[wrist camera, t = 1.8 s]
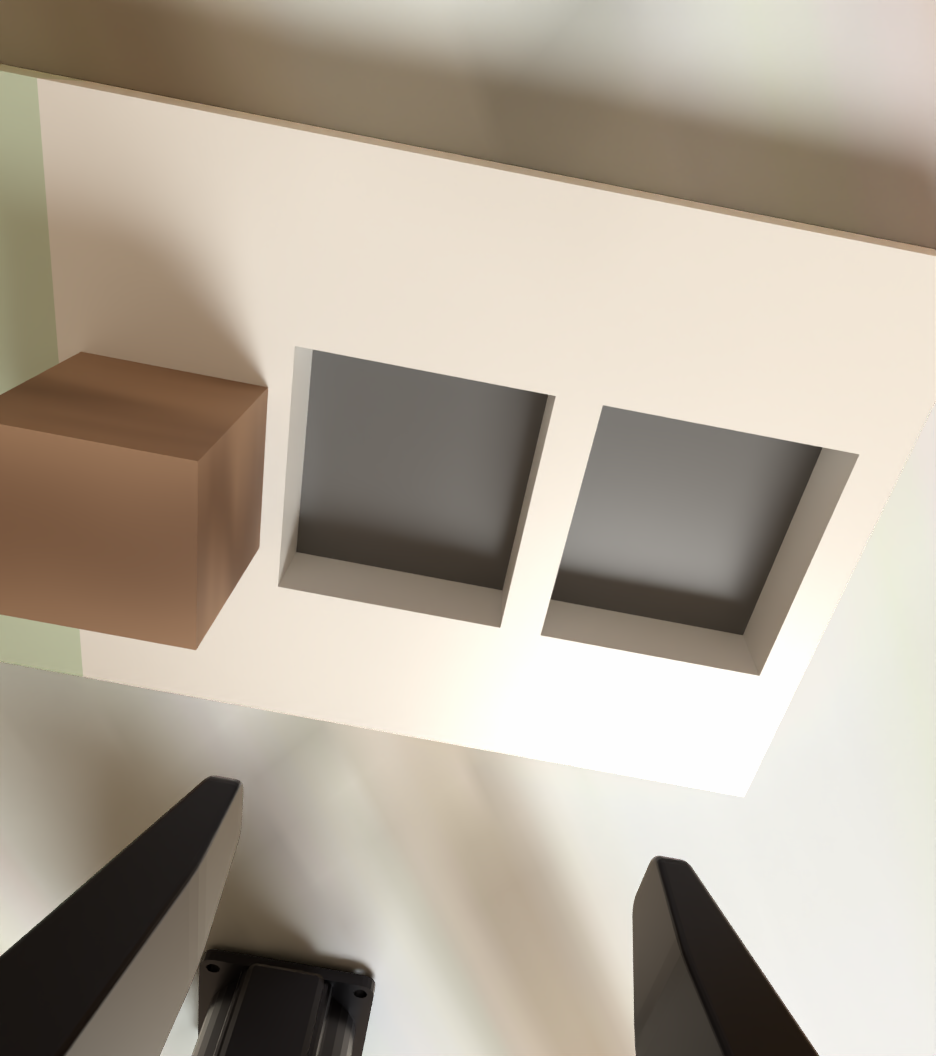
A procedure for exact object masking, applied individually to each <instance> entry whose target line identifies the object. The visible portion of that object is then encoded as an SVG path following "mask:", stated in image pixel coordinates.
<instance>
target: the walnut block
mask: <svg viewBox="0 0 936 1056" xmlns="http://www.w3.org/2000/svg"><path fill="white" fill-rule="evenodd" d="M267 401H268V387H264V386H259V385H253V384H248V383H243V382H238V381H233V380H227V379H222V378H217V377H212V376H206V375H201V374H196V373H191V372H185V371H180V370H175V369H170V368H164V367H159V366H154V365H149V364H143V363H138V362H133V361H128V360H122V359H117V358H112V357H107V356H102V355H96V354H91V353H86V352H79V353H78V354H76V355H74V356H72V357H70V358H68V359H66V360H65V361H63V362H61V363H59V364H57V365H55V366H53V367H51V368H50V369H48V370H46V371H44V372H42V373H40V374H38V375H36V376H35V377H33V378H31V379H29V380H27V381H25V382H23V383H22V384H20V385H18V386H16V387H14V388H12V389H10V390H8V391H7V392H5V393H3V394H1V395H0V615H6V616H11V617H17V618H22V619H28V620H33V621H39V622H44V623H49V624H55V625H60V626H66V627H71V628H77V629H82V630H88V631H93V632H99V633H104V634H110V635H115V636H120V637H126V638H131V639H137V640H142V641H148V642H153V643H159V644H164V645H170V646H175V647H181V648H186V649H192V650H197V648H198V646H199V645H200V643H201V642H202V640H203V638H204V637H205V635H206V634H207V632H208V630H209V629H210V627H211V625H212V624H213V622H214V621H215V619H216V617H217V616H218V614H219V612H220V611H221V609H222V608H223V606H224V604H225V603H226V601H227V600H228V598H229V596H230V595H231V593H232V591H233V590H234V588H235V587H236V585H237V583H238V582H239V580H240V579H241V577H242V575H243V574H244V572H245V570H246V569H247V567H248V566H249V564H250V562H251V561H252V559H253V557H254V556H255V554H256V553H257V551H258V549H259V547H260V529H261V511H262V492H263V474H264V456H265V438H266V420H267Z"/></svg>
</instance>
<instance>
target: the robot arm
mask: <svg viewBox="0 0 936 1056" xmlns="http://www.w3.org/2000/svg"><path fill="white" fill-rule="evenodd" d="M242 805H243V785H242V782H241V781H239V780H237V779H231V778H225V777H220V776H210V777H208V778H206V779H205V780H203V781H202V782H201V783H200V784H199V785H198V786H196V787H195V788H194V789H193V790H192V791H191V792H190V793H188V794H187V795H186V796H185V797H184V798H183V799H181V800H180V801H179V802H178V803H177V804H176V805H175V806H173V807H172V808H171V809H170V810H169V811H168V812H166V813H165V814H164V815H163V816H162V817H161V818H160V819H158V820H157V821H156V822H155V823H154V824H153V825H151V826H150V827H149V828H148V829H147V830H146V831H145V832H143V833H142V834H141V835H140V836H139V837H138V838H136V839H135V840H134V841H133V842H132V843H131V844H130V845H128V846H127V847H126V848H125V849H124V850H123V851H121V852H120V853H119V854H118V855H117V856H116V857H115V858H113V859H112V860H111V861H110V862H109V863H108V864H106V865H105V866H104V867H103V868H102V869H101V870H100V871H98V872H97V873H96V874H95V875H94V876H93V877H91V878H90V879H89V880H88V881H87V882H86V883H85V884H83V885H82V886H81V887H80V888H79V889H78V890H76V891H75V892H74V893H73V894H72V895H71V896H70V897H68V898H67V899H66V900H65V901H64V902H63V903H61V904H60V905H59V906H58V907H57V908H56V909H55V910H53V911H52V912H51V913H50V914H49V915H48V916H46V917H45V918H44V919H43V920H42V921H41V922H40V923H38V924H37V925H36V926H35V927H34V928H33V929H31V930H30V931H29V932H28V933H27V934H26V935H24V936H23V937H22V938H21V939H20V940H19V941H18V942H16V943H15V944H14V945H13V946H12V947H11V948H9V949H8V950H7V951H6V952H5V953H4V954H3V955H1V956H0V1056H160V1054H161V1051H162V1049H163V1047H164V1045H165V1042H166V1040H167V1038H168V1036H169V1033H170V1031H171V1029H172V1026H173V1024H174V1022H175V1020H176V1017H177V1015H178V1013H179V1011H180V1008H181V1006H182V1004H183V1002H184V999H185V997H186V995H187V993H188V990H189V988H190V985H191V983H192V981H193V978H194V976H195V973H196V971H197V968H198V965H199V962H200V960H201V957H202V954H203V951H204V948H205V945H206V942H207V939H208V936H209V932H210V929H211V926H212V923H213V920H214V917H215V914H216V911H217V907H218V904H219V901H220V898H221V895H222V892H223V889H224V885H225V882H226V879H227V876H228V873H229V870H230V867H231V863H232V860H233V857H234V854H235V851H236V848H237V844H238V841H239V837H240V832H241V824H242ZM633 977H634V1030H635V1050H636V1056H819V1055H818V1053H817V1052H816V1050H815V1049H814V1047H813V1046H812V1044H811V1043H810V1041H809V1040H808V1038H807V1037H806V1035H805V1034H804V1032H803V1031H802V1029H801V1028H800V1027H799V1025H798V1024H797V1022H796V1021H795V1019H794V1018H793V1016H792V1015H791V1013H790V1012H789V1010H788V1009H787V1007H786V1006H785V1004H784V1003H783V1001H782V1000H781V998H780V997H779V996H778V994H777V993H776V991H775V990H774V988H773V987H772V985H771V984H770V982H769V981H768V979H767V978H766V976H765V975H764V973H763V972H762V970H761V969H760V967H759V966H758V964H757V963H756V962H755V960H754V959H753V957H752V956H751V954H750V953H749V951H748V950H747V948H746V947H745V945H744V944H743V942H742V941H741V939H740V938H739V936H738V935H737V933H736V932H735V930H734V929H733V928H732V926H731V925H730V923H729V922H728V920H727V919H726V917H725V916H724V914H723V913H722V911H721V910H720V908H719V907H718V905H717V904H716V902H715V901H714V899H713V898H712V896H711V895H710V894H709V892H708V891H707V889H706V888H705V886H704V885H703V883H702V882H701V880H700V879H699V877H698V876H697V874H696V873H695V871H694V870H693V868H692V867H691V866H690V865H689V864H688V863H687V862H686V861H684V860H680V859H675V858H669V857H664V856H655V857H654V858H653V859H652V860H651V862H650V863H649V866H648V868H647V870H646V873H645V875H644V877H643V880H642V882H641V884H640V887H639V889H638V891H637V894H636V896H635V900H634V905H633ZM374 990H375V982H374V981H373V979H371V978H370V977H368V976H364V975H359V974H353V973H347V972H342V971H336V970H330V969H325V968H319V967H313V966H307V965H302V964H296V963H290V962H284V961H279V960H273V959H267V958H262V957H256V956H250V955H244V954H239V953H233V952H227V951H221V950H213V949H212V950H208V951H206V952H205V953H204V955H203V958H202V961H201V963H200V968H199V1024H198V1039H197V1042H196V1045H195V1048H194V1051H193V1053H192V1056H362V1051H363V1046H364V1041H365V1036H366V1031H367V1026H368V1021H369V1016H370V1011H371V1006H372V1001H373V996H374Z"/></svg>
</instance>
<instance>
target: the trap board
mask: <svg viewBox="0 0 936 1056" xmlns="http://www.w3.org/2000/svg"><path fill="white" fill-rule="evenodd" d="M79 352H86V353H91V354H96V355H102V356H107V357H112V358H117V359H122V360H128V361H133V362H138V363H143V364H149V365H154V366H159V367H164V368H170V369H175V370H180V371H185V372H191V373H196V374H201V375H206V376H212V377H217V378H222V379H227V380H233V381H238V382H243V383H248V384H253V385H259V386H264V387H268V401H267V420H266V438H265V456H264V474H263V492H262V511H261V529H260V547H259V549H258V551H257V553H256V554H255V556H254V557H253V559H252V561H251V562H250V564H249V566H248V567H247V569H246V570H245V572H244V574H243V575H242V577H241V579H240V580H239V582H238V583H237V585H236V587H235V588H234V590H233V591H232V593H231V595H230V596H229V598H228V600H227V601H226V603H225V604H224V606H223V608H222V609H221V611H220V612H219V614H218V616H217V617H216V619H215V621H214V622H213V624H212V625H211V627H210V629H209V630H208V632H207V634H206V635H205V637H204V638H203V640H202V642H201V643H200V645H199V646H198V648H197V650H192V649H186V648H181V647H175V646H170V645H164V644H159V643H153V642H148V641H142V640H137V639H131V638H126V637H120V636H115V635H110V634H104V633H99V632H93V631H88V630H82V629H77V628H71V627H66V626H60V625H55V624H49V623H44V622H39V621H33V620H28V619H22V618H17V617H11V616H6V615H0V662H3V663H8V664H14V665H19V666H25V667H30V668H36V669H41V670H47V671H52V672H58V673H63V674H69V675H74V676H80V677H85V678H91V679H96V680H102V681H107V682H113V683H118V684H124V685H129V686H135V687H140V688H146V689H151V690H157V691H162V692H168V693H173V694H179V695H184V696H190V697H195V698H201V699H206V700H212V701H217V702H223V703H228V704H234V705H239V706H245V707H250V708H256V709H261V710H267V711H272V712H278V713H283V714H289V715H294V716H300V717H305V718H311V719H316V720H322V721H327V722H333V723H339V724H344V725H350V726H355V727H361V728H366V729H372V730H377V731H383V732H388V733H394V734H399V735H405V736H410V737H416V738H421V739H427V740H432V741H438V742H443V743H449V744H454V745H460V746H465V747H471V748H476V749H482V750H487V751H493V752H498V753H504V754H509V755H515V756H520V757H526V758H531V759H537V760H542V761H548V762H553V763H559V764H564V765H570V766H575V767H581V768H586V769H592V770H597V771H603V772H608V773H614V774H619V775H625V776H630V777H636V778H641V779H647V780H652V781H658V782H663V783H669V784H674V785H680V786H685V787H691V788H696V789H702V790H707V791H713V792H718V793H724V794H729V795H735V796H740V797H744V796H745V794H746V792H747V790H748V788H749V786H750V784H751V782H752V780H753V778H754V776H755V774H756V771H757V769H758V767H759V765H760V763H761V761H762V759H763V757H764V755H765V753H766V751H767V749H768V747H769V745H770V743H771V740H772V738H773V736H774V734H775V732H776V730H777V728H778V726H779V724H780V722H781V720H782V718H783V716H784V714H785V712H786V710H787V707H788V705H789V703H790V701H791V699H792V697H793V695H794V693H795V691H796V689H797V687H798V685H799V683H800V681H801V679H802V677H803V674H804V672H805V670H806V668H807V666H808V664H809V662H810V660H811V658H812V656H813V654H814V652H815V650H816V648H817V646H818V643H819V641H820V639H821V637H822V635H823V633H824V631H825V629H826V627H827V625H828V623H829V621H830V619H831V617H832V615H833V613H834V610H835V608H836V606H837V604H838V602H839V600H840V598H841V596H842V594H843V592H844V590H845V588H846V586H847V584H848V582H849V579H850V577H851V575H852V573H853V571H854V569H855V567H856V565H857V563H858V561H859V559H860V557H861V555H862V553H863V551H864V549H865V546H866V544H867V542H868V540H869V538H870V536H871V534H872V532H873V530H874V528H875V526H876V524H877V522H878V520H879V518H880V516H881V513H882V511H883V509H884V507H885V505H886V503H887V501H888V499H889V497H890V495H891V493H892V491H893V489H894V487H895V485H896V482H897V480H898V478H899V476H900V474H901V472H902V470H903V468H904V466H905V464H906V462H907V460H908V458H909V456H910V454H911V452H912V449H913V447H914V445H915V443H916V441H917V439H918V437H919V435H920V433H921V431H922V429H923V427H924V425H925V423H926V421H927V419H928V416H929V414H930V412H931V410H932V408H933V406H934V404H935V402H936V249H931V248H926V247H921V246H916V245H911V244H906V243H901V242H896V241H891V240H886V239H881V238H876V237H871V236H866V235H861V234H856V233H850V232H845V231H840V230H835V229H830V228H825V227H820V226H815V225H810V224H805V223H800V222H795V221H790V220H785V219H780V218H775V217H770V216H765V215H760V214H755V213H750V212H745V211H740V210H735V209H730V208H725V207H720V206H714V205H709V204H704V203H699V202H694V201H689V200H684V199H679V198H674V197H669V196H664V195H659V194H654V193H649V192H644V191H639V190H634V189H629V188H624V187H619V186H614V185H609V184H604V183H599V182H594V181H589V180H584V179H578V178H573V177H568V176H563V175H558V174H553V173H548V172H543V171H538V170H533V169H528V168H523V167H518V166H513V165H508V164H503V163H498V162H493V161H488V160H483V159H478V158H473V157H468V156H463V155H458V154H453V153H447V152H442V151H437V150H432V149H427V148H422V147H417V146H412V145H407V144H402V143H397V142H392V141H387V140H382V139H377V138H372V137H367V136H362V135H357V134H352V133H347V132H342V131H337V130H332V129H327V128H322V127H317V126H311V125H306V124H301V123H296V122H291V121H286V120H281V119H276V118H271V117H266V116H261V115H256V114H251V113H246V112H241V111H236V110H231V109H226V108H221V107H216V106H211V105H206V104H201V103H196V102H191V101H186V100H180V99H175V98H170V97H165V96H160V95H155V94H150V93H145V92H140V91H135V90H130V89H125V88H120V87H115V86H110V85H105V84H100V83H95V82H90V81H85V80H80V79H75V78H70V77H65V76H60V75H55V74H50V73H44V72H39V71H34V70H29V69H24V68H19V67H14V66H9V65H4V64H0V395H1V394H3V393H5V392H7V391H8V390H10V389H12V388H14V387H16V386H18V385H20V384H22V383H23V382H25V381H27V380H29V379H31V378H33V377H35V376H36V375H38V374H40V373H42V372H44V371H46V370H48V369H50V368H51V367H53V366H55V365H57V364H59V363H61V362H63V361H65V360H66V359H68V358H70V357H72V356H74V355H76V354H78V353H79Z"/></svg>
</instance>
